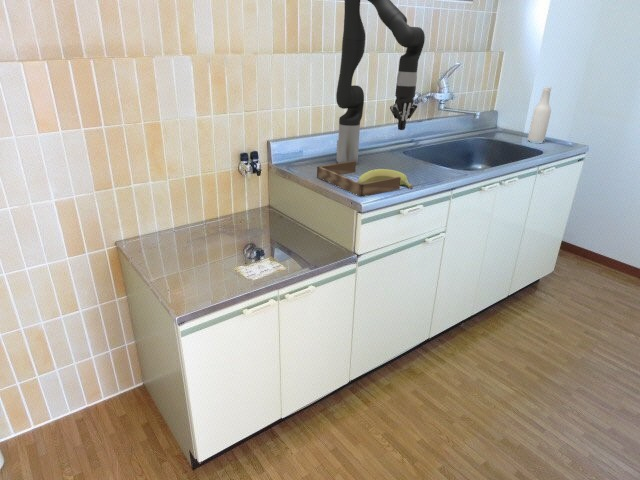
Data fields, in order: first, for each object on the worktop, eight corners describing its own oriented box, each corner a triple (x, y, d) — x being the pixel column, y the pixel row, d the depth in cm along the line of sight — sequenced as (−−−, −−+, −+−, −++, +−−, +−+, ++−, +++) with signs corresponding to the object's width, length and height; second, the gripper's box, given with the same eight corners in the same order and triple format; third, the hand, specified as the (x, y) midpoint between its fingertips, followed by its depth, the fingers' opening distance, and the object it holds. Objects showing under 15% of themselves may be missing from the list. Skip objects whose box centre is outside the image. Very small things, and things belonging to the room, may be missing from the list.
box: (316, 177, 184) (317, 166, 183) (353, 171, 194) (354, 160, 193) (360, 197, 163) (361, 184, 162) (399, 188, 173) (400, 177, 172)
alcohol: (527, 142, 259) (539, 87, 246) (526, 139, 266) (537, 85, 254) (544, 144, 256) (557, 88, 244) (542, 141, 264) (555, 86, 252)
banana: (370, 160, 183) (418, 174, 176) (369, 172, 186) (416, 186, 180) (356, 177, 174) (406, 191, 167) (355, 189, 177) (404, 204, 170)
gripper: (411, 82, 181) (406, 126, 188) (386, 83, 174) (382, 129, 182) (425, 84, 175) (419, 130, 183) (400, 85, 169) (395, 133, 176)
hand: (401, 129), depth 182 cm, fingers closed
